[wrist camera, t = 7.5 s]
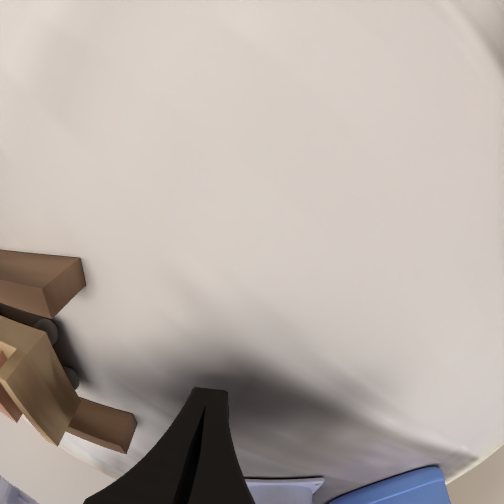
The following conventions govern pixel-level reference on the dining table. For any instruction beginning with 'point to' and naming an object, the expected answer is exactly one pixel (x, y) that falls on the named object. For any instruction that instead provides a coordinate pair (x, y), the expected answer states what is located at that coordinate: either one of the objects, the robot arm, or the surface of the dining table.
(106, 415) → the bay
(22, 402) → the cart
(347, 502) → the water jug
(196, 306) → the dining table surface
